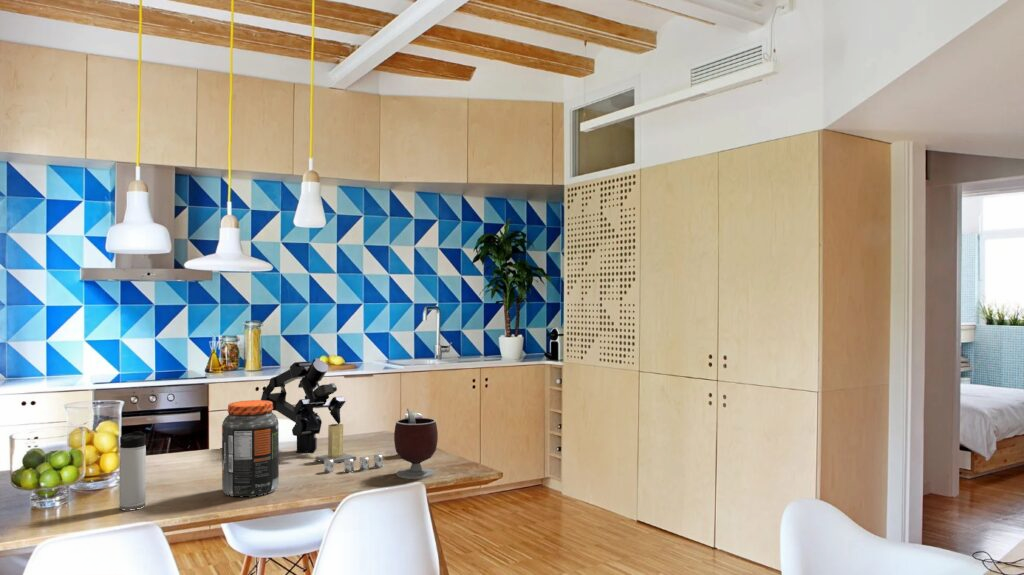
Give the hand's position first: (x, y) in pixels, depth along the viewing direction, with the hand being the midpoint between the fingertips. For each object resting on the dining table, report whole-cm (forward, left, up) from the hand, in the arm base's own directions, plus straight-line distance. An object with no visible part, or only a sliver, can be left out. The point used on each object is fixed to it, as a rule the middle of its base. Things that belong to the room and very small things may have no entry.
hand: (328, 424), depth 263 cm
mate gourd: (+32, -27, -12) cm, 43 cm away
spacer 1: (+4, -23, -12) cm, 26 cm away
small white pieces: (+30, +3, -12) cm, 32 cm away
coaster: (+3, -5, -12) cm, 13 cm away
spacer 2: (+10, -22, -12) cm, 27 cm away
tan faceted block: (+3, -5, -11) cm, 12 cm away
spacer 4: (+19, -17, -12) cm, 28 cm away
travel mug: (-42, -60, -12) cm, 74 cm away
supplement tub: (-15, -45, -12) cm, 49 cm away
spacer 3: (+15, -20, -12) cm, 28 cm away
